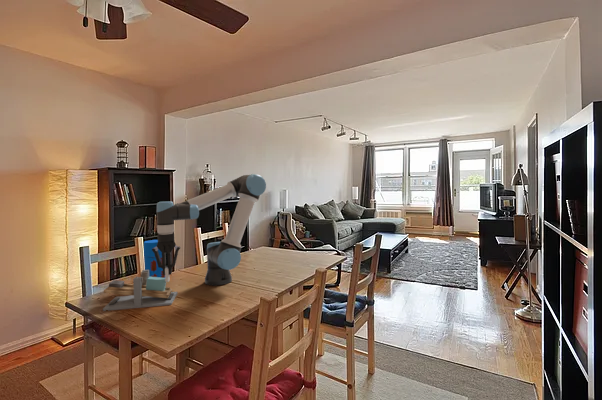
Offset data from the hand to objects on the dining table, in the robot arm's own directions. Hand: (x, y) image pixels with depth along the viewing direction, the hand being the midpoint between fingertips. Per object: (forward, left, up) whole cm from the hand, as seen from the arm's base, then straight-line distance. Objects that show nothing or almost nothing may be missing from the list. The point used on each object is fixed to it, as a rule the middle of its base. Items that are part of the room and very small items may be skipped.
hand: (167, 281), depth 157 cm
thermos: (+18, -23, -9) cm, 31 cm away
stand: (+11, +3, -9) cm, 15 cm away
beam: (+13, +3, -4) cm, 14 cm away
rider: (+6, +1, -4) cm, 7 cm away
